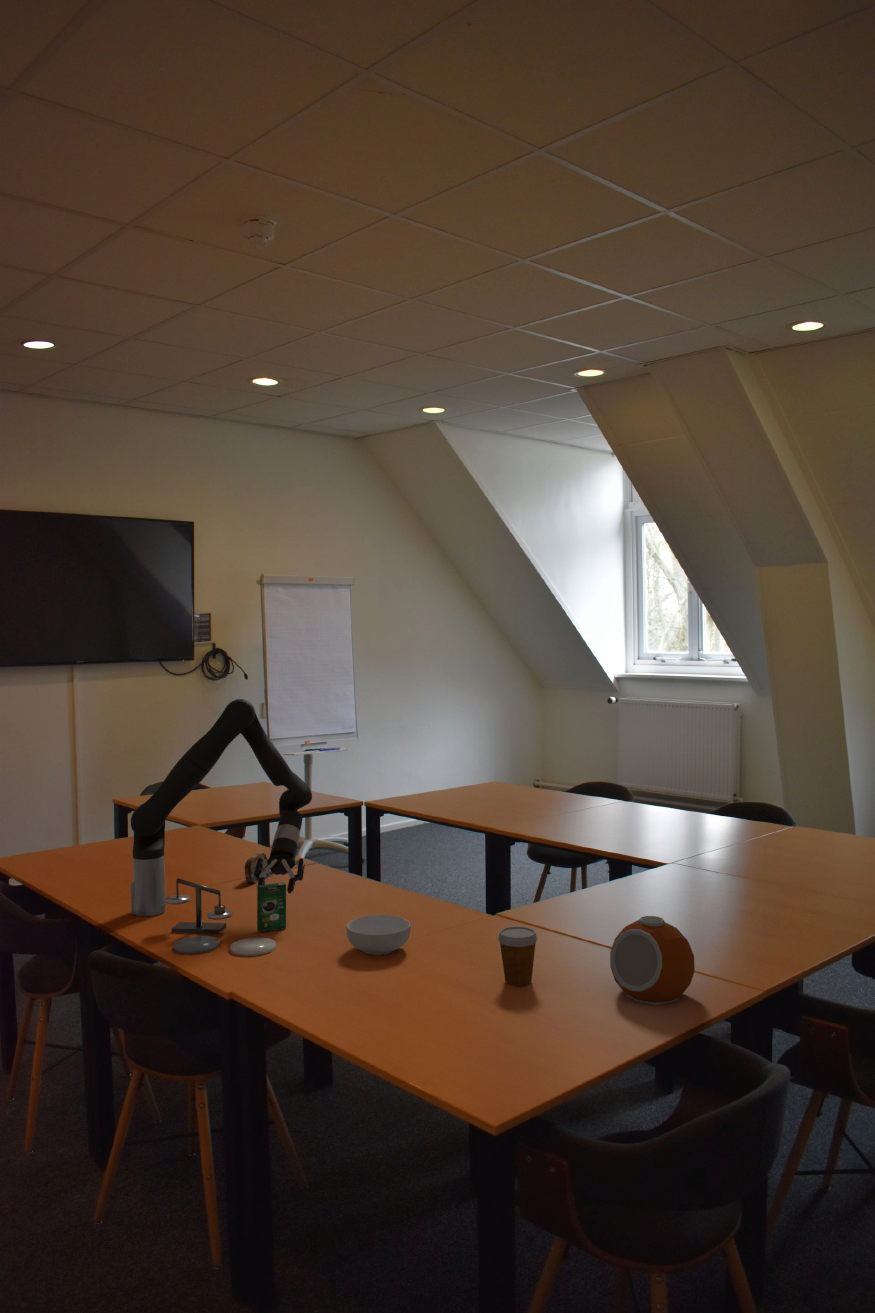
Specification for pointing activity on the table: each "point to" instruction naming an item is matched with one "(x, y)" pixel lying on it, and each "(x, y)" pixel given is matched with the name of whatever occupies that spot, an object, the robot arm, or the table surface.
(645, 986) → the alarm clock
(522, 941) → the disposable coffee cup
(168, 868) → the table surface
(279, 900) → the coffee box
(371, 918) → the cereal bowl
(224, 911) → the balance
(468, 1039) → the table surface
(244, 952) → the white dish
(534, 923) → the table surface
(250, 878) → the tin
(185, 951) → the grey dish
